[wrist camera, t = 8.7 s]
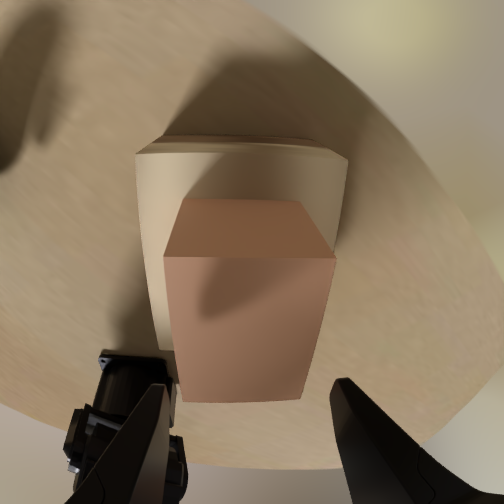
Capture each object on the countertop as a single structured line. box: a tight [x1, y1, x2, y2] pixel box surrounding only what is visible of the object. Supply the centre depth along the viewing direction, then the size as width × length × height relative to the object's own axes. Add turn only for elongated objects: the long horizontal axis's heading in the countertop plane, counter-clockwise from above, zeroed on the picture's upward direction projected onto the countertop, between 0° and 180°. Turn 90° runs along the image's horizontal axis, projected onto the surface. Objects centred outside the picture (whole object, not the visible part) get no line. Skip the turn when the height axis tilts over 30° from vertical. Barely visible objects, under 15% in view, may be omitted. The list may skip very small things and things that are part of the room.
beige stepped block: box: [135, 135, 349, 351], centre depth 17 cm, size 9×11×6 cm
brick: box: [163, 199, 337, 403], centre depth 13 cm, size 5×7×5 cm
